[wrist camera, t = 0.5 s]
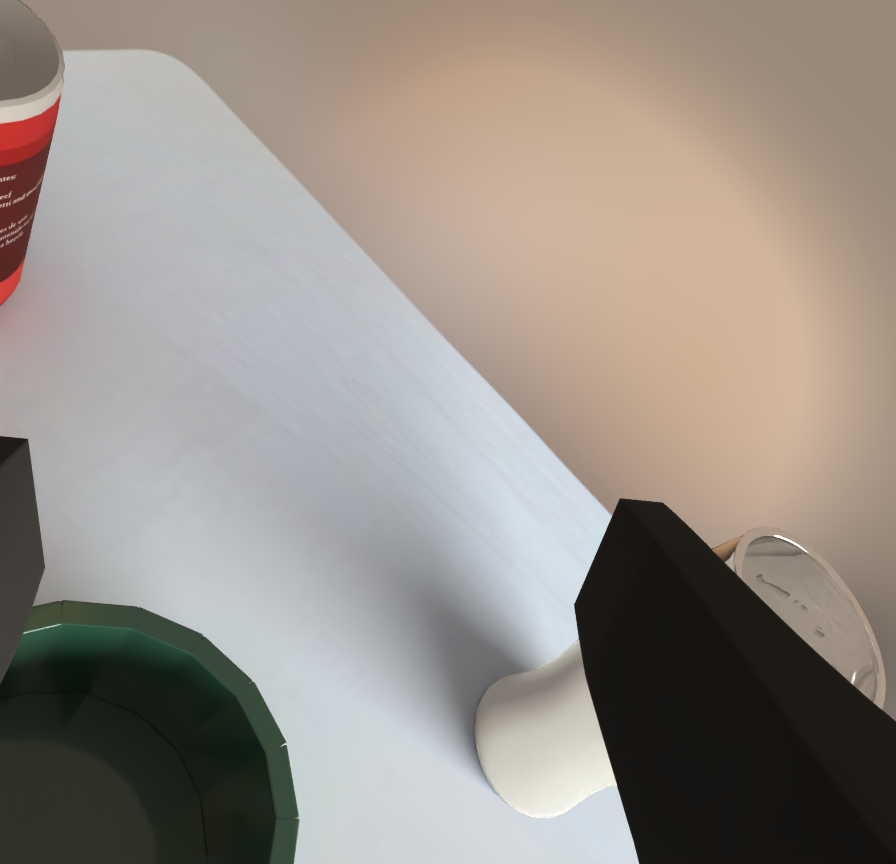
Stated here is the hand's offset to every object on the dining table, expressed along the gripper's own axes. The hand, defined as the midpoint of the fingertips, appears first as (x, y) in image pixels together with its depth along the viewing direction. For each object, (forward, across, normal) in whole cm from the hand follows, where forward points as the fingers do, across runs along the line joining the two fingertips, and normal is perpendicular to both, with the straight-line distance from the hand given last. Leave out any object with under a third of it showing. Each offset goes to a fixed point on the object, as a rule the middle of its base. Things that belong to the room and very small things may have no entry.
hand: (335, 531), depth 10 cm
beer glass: (+12, -11, +23) cm, 28 cm away
